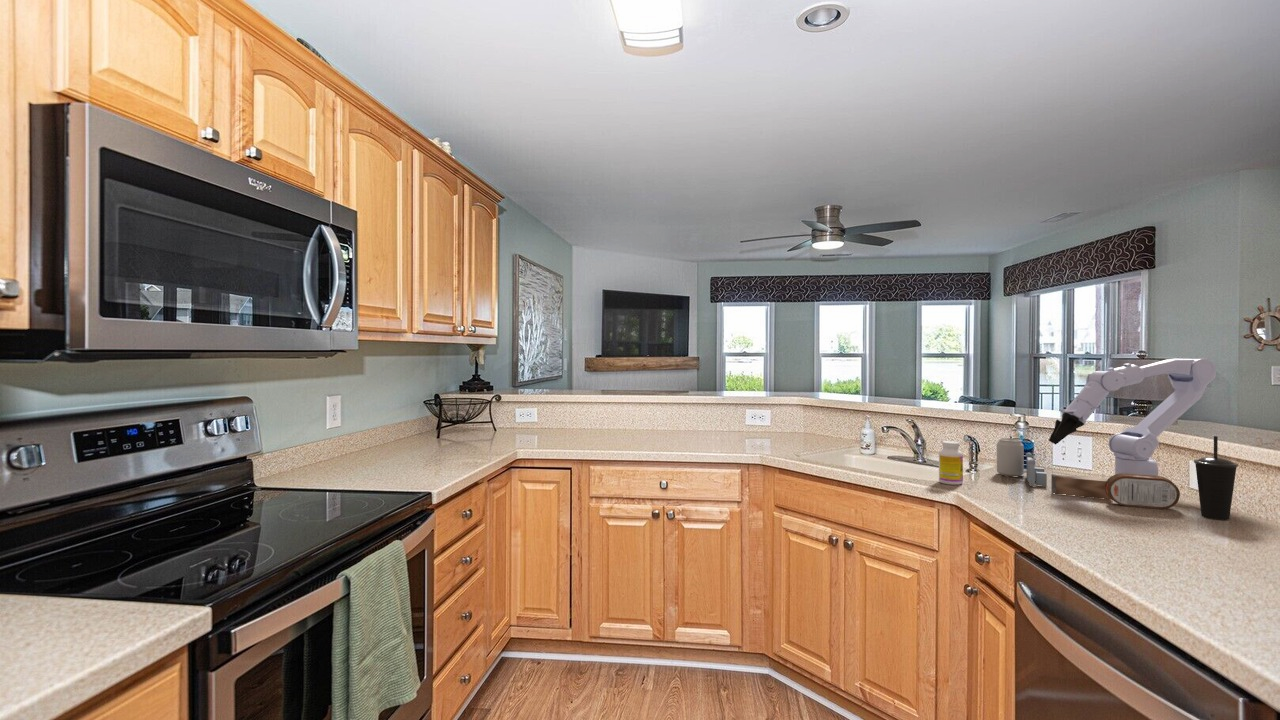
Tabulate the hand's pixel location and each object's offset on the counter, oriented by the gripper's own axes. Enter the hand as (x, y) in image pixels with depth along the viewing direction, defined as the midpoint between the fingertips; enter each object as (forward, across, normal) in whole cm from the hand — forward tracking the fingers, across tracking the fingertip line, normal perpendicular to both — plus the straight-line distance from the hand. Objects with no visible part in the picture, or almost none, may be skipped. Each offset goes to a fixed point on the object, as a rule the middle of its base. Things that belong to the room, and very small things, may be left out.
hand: (1054, 440), depth 169 cm
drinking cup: (0, +14, +35) cm, 38 cm away
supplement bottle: (+28, -1, -14) cm, 32 cm away
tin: (+6, +9, +24) cm, 26 cm away
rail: (+10, +2, +13) cm, 17 cm away
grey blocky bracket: (+12, -11, +4) cm, 16 cm away
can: (+13, -20, -2) cm, 24 cm away
